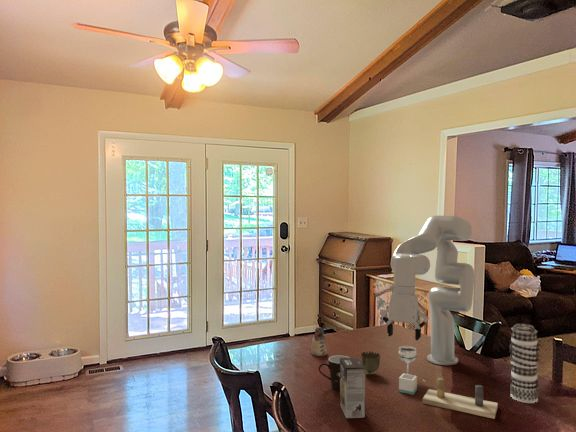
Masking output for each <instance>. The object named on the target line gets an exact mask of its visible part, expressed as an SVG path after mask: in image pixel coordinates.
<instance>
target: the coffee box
mask: <svg viewBox="0 0 576 432" xmlns="http://www.w3.org/2000/svg"><path fill="white" fill-rule="evenodd" d="M339 399H340V408H341V411H342V412H343V414H344V416H345V419H357V418H358V419H360V418H361V419H362V418H365V417H366V416H365V415H366V409H365V408H366V405H365V404H366V400H365V399H366V370H365V367H364V365H363V364H362V360H360V359H359V357H350V358H340V390H339Z"/></svg>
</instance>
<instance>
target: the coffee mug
mask: <svg viewBox="0 0 576 432" xmlns="http://www.w3.org/2000/svg"><path fill="white" fill-rule="evenodd" d="M340 358H351V357H350V356H346V355H332V356H329V357H328V364H327V362H326V363H325V362H324V363H321V364H320V365H319V367H318V372H319V373H320V375H322V376H323V377H324V378H327V379H329V381H330V383H331V388H332V389H334V390H337V391H340ZM322 366H327V367H328V369H329V376H330V377H329V376H328V375H327V374H324V372H322V371H321V367H322Z"/></svg>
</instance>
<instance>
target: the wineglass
mask: <svg viewBox="0 0 576 432" xmlns="http://www.w3.org/2000/svg"><path fill="white" fill-rule="evenodd" d="M417 349H418V348H417V347H415V346H413V345H412V346H411V345H401V346H398V358H400V359H401V361H403V362H405V363H406V374H409V368H410V367H409V364H410V363H411V362H412V363H413V362H414V361H415V360H416V358H417V356H418V354H417V353H418V352H417Z"/></svg>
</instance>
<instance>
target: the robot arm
mask: <svg viewBox="0 0 576 432" xmlns="http://www.w3.org/2000/svg"><path fill="white" fill-rule="evenodd" d="M472 227H473V226H472V225H471V223H470V222H469V220H466V219H464V218H462V217H460V216H457V215H432V216H430V217H429V218H427V219H426V221H425V222H424V224H423V225H422V228H421V229H420V230H419V232H418V233H417V235H415V236H413V237H411V238H409V239H407V240H405V241H403V242H401V243H400V244H399V245H398V246H397V248H396V249H395V250H394V253H393V254H392V256H391V259H390V268H391V269H392V271H393V285H389V290H392V292H391V293H390V297H389V304H388V305H389V306H388V308H387V309H383V310H381V311H380V312H379V314H380V316H381V317H382V320H383V321H384V322H385V325H387V327H386V329H387V330H386V331H387V334H388V335H387V336H388V337H392V336H393V334H394V325H393V322H395V323H402V324H413V325H414V326H415V330H414V331H415V334H414V335H415V336H414V339H415V341H419V340H420V339H421V338H422V329H423V327H424V326H425V325H426V324H427V323H428V321H429V319H430V353H429V354H428V355H427V356H426V359H427V361H428V362H430V363H432V364H435V365H438V366H439V365H441V366H455V365H457V364H458V363H459V358H458V357H457V356H456V355H455V319H454V316H453V314H452V313H451V311H453V312H460V313H469V311H470V310H471V309H472V306H473V300H474V299H473V298H474V297H473V296H474V290H475V289H474V288H475V287H474V286H475V269H474V267H473V266H472V265H471V264H470V263H466V262H458V257H459V256H458V255H459V251H458V249H457V247H456V245H455V244H454V242H452V241H455V242H456V241H460V242H464V241H465V242H466V241H468V240H470V239H471V238H472V235H473V228H472ZM435 249H436V261H435V268H434V278H435V281H436V282H437V283H440V284H442V285H443V284H445V285H452V286H460V288H457V287H451V286H450V287H448V286H442V285H440V286H434V287H431V288H430V289H429V291H428V294H427V295H428V305H429V309H430V310H429V311H430V316H428V315H427V314H425V313H423V312H421V311H420V309H419V308H420V307H419V306H420V305H419V300H418V294H417V293H416V275H418V276H419V275H420V276H421V275H426V274H427V273H428V272H429V270H430V268H431V260H430V259H429V257H428V256H426V255H424V254H426V253H429V252H432V251H434V250H435ZM386 314H388V317H387V316H386ZM420 318H422V319H423V320H422V322H420V321H419V320H420Z"/></svg>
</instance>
